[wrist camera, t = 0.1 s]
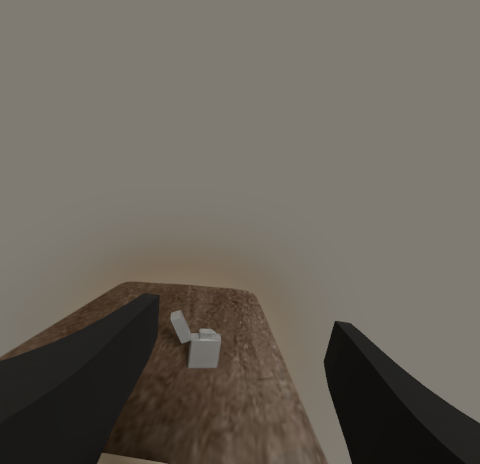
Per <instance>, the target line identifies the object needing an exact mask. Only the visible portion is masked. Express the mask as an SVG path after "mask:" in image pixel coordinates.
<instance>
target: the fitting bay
mask: <svg viewBox="0 0 480 464" xmlns="http://www.w3.org/2000/svg"><path fill="white" fill-rule="evenodd" d="M97 464H166V463H160V462H154V461H148V460H142V459H137V458H131V457H125V456H119V455H113V454H107V453H102V454H101V456H100V458H99V461H98V463H97Z"/></svg>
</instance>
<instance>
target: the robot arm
mask: <svg viewBox="0 0 480 464" xmlns="http://www.w3.org/2000/svg"><path fill="white" fill-rule="evenodd" d="M159 297H160V295H154V294H147V293H144V294H142V295H141V296H139V297H137V298H136V299H134V300H132V301H131V302H129V303H128V304H126V305H124V306H123V307H121V308H119V309H118V310H116V311H114V312H113V313H111V314H109V315H107V316H106V317H104V318H102V319H100V320H98V321H96V322H95V323H93V324H91V325H89V326H87V327H85V328H83V329H81V330H79V331H77V332H75V333H73V334H71V335H69V336H67V337H64V338H62V339H60V340H57V341H55V342H53V343H50V344H48V345H45V346H42V347H40V348H37V349H34V350H32V351H29V352H26V353H23V354H21V355H18V356H15V357H12V358H9V359H6V360H3V361H0V464H97V463H98V461H99V458H100V456H101V454H102V451H103V449H104V447H105V444H106V442H107V440H108V437H109V435H110V433H111V430H112V428H113V426H114V424H115V422H116V420H117V418H118V416H119V414H120V412H121V410H122V408H123V406H124V405H125V403H126V401H127V399H128V397H129V395H130V394H131V392H132V390H133V388H134V386H135V384H136V382H137V381H138V379H139V377H140V375H141V373H142V371H143V369H144V368H145V366H146V364H147V362H148V360H149V357H150V355H151V352H152V350H153V347H154V345H155V342H156V339H157V334H158V315H159ZM324 367H325V372H326V378H327V383H328V388H329V391H330V394H331V397H332V401H333V404H334V407H335V410H336V413H337V416H338V419H339V423H340V426H341V429H342V432H343V435H344V438H345V441H346V444H347V447H348V451H349V455H350V458H351V461H352V464H480V423H478V422H477V421H475V420H473V419H472V418H470V417H469V416H467V415H465V414H464V413H462V412H461V411H459V410H458V409H456V408H455V407H453V406H452V405H450V404H449V403H447V402H446V401H445V400H443V399H442V398H440V397H439V396H438V395H436V394H434V393H433V392H432V391H430V390H429V389H428V388H426V387H425V386H424V385H422V384H421V383H420V382H419V381H417V380H416V379H415V378H414V377H412V376H411V375H409V373H407V372H406V371H405V370H404V369H402V368H401V367H400V366H399V365H398V364H396V363H395V362H394V361H393V360H392V359H391V358H389V357H388V356H387V355H386V354H385V353H384V352H382V351H381V350H380V349H379V348H378V347H377V346H376V345H375V344H374V343H373V342H371V341H370V340H369V339H368V338H367V337H366V336H365V335H364V334H363V333H361V332H360V331H359V330H358V329H357V328H355V327H354V326H353V325H352V324H351V323H345V322H339V321H335V323H334V326H333V330H332V334H331V337H330V341H329V345H328V348H327V352H326V355H325V359H324Z"/></svg>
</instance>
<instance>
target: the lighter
mask: <svg viewBox="0 0 480 464" xmlns="http://www.w3.org/2000/svg"><path fill="white" fill-rule="evenodd" d="M171 321H172V324H173V326H174V328H175V330H176V333H177V335H178V337H179V339H180V342H181V344H183V343H185V342H188V341H190V345H189V353H188V368H216V367H217V365H218V358H219V352H220V345H221V337H220V334H216V332H214V331H213V330H212V329H200V331H199V333H192V334H191V332H190V330H189V328H188V325H187V323H186V321H185V318H184V316H183V314H182V311H181V310H178V311H176V312H173V313H171Z"/></svg>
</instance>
